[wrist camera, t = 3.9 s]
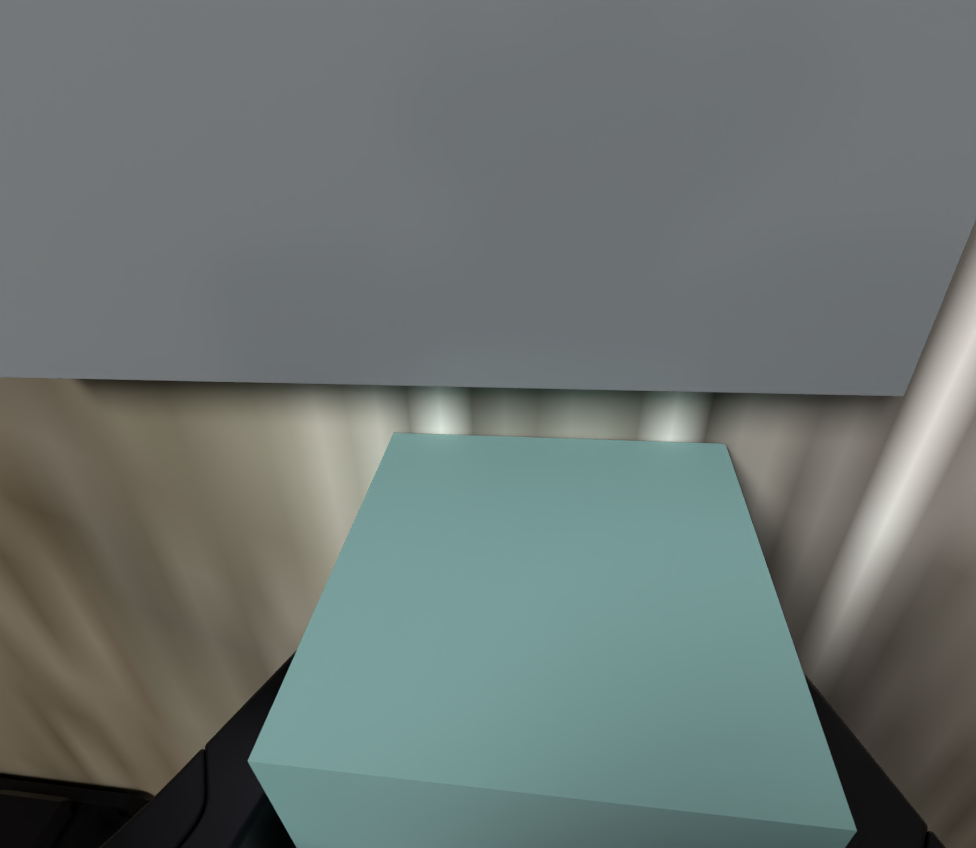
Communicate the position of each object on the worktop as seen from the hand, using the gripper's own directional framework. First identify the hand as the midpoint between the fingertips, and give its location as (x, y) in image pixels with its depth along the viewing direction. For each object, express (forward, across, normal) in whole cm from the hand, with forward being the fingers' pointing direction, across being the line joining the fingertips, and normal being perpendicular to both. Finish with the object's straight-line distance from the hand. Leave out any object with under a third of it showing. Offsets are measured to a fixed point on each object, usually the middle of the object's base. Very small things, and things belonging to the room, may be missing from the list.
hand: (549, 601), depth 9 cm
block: (+1, 0, 0) cm, 1 cm away
